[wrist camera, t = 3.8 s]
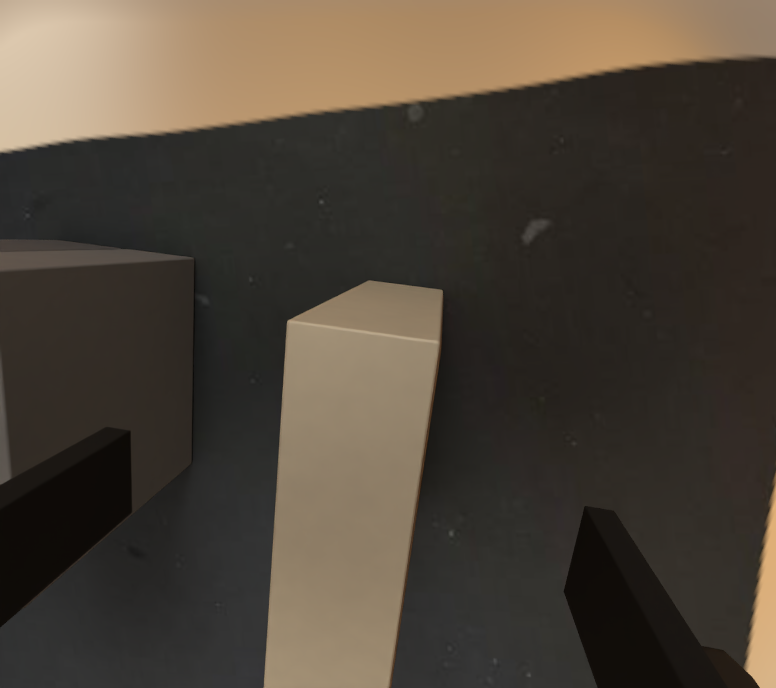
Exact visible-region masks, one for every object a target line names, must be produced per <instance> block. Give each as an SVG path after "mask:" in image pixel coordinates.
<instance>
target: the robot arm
mask: <svg viewBox="0 0 776 688" xmlns="http://www.w3.org/2000/svg"><path fill="white" fill-rule="evenodd" d="M131 513H132V475H131V431H130V430H124V429H118V428H112V427H105V428H103V429H101V430H100V431H98V432H96V433H94V434H92V435H90V436H89V437H87V438H85V439H83V440H81V441H79V442H78V443H76V444H74V445H72V446H70V447H68V448H67V449H65V450H63V451H61V452H59V453H58V454H56V455H54V456H52V457H50V458H48V459H47V460H45V461H43V462H41V463H39V464H37V465H36V466H34V467H32V468H30V469H28V470H26V471H25V472H23V473H21V474H19V475H17V476H16V477H14V478H12V479H10V480H8V481H6V482H5V483H3V484H1V485H0V627H1V626H2V625H4V624H5V623H6V622H7V621H8V620H9V619H10V618H12V617H13V616H14V615H15V614H16V613H17V612H18V611H20V610H21V609H22V608H23V607H24V606H25V605H27V604H28V603H29V602H30V601H31V600H32V599H33V598H35V597H36V596H37V595H38V594H39V593H40V592H41V591H43V590H44V589H45V588H46V587H47V586H48V585H49V584H51V583H52V582H53V581H54V580H55V579H56V578H58V577H59V576H60V575H61V574H62V573H63V572H64V571H66V570H67V569H68V568H69V567H70V566H71V565H72V564H74V563H75V562H76V561H77V560H78V559H79V558H81V557H82V556H83V555H84V554H85V553H86V552H87V551H89V550H90V549H91V548H92V547H93V546H94V545H95V544H97V543H98V542H99V541H100V540H101V539H102V538H103V537H105V536H106V535H107V534H108V533H109V532H110V531H112V530H113V529H114V528H115V527H116V526H117V525H118V524H120V523H121V522H122V521H123V520H124V519H125V518H126V517H128V516H129V515H130V514H131ZM564 593H565V596H566V599H567V602H568V605H569V608H570V610H571V613H572V616H573V619H574V622H575V625H576V628H577V630H578V633H579V636H580V639H581V642H582V645H583V647H584V650H585V653H586V656H587V659H588V662H589V664H590V667H591V670H592V673H593V676H594V679H595V682H596V684H597V687H598V688H760V687H759V686H758V685H757V683H756V682H755V680H754V679H753V678H752V676H751V675H750V674H748V673H747V672H746V671H745V670H744V669H743V668H742V667H741V666H740V665H739V664H738V663H737V662H736V661H734V660H733V659H732V658H731V657H730V656H729V655H728V654H727V653H726V652H725V651H724V650H720V649H714V648H709V647H704V646H701V645H700V644H699V642H698V640H697V639H696V637H695V636H694V634H693V633H692V631H691V630H690V628H689V626H688V625H687V623H686V622H685V620H684V619H683V617H682V616H681V614H680V613H679V611H678V609H677V608H676V606H675V605H674V603H673V602H672V600H671V599H670V597H669V595H668V594H667V592H666V591H665V589H664V588H663V586H662V585H661V583H660V581H659V580H658V578H657V577H656V575H655V574H654V572H653V571H652V569H651V568H650V566H649V564H648V563H647V561H646V560H645V558H644V557H643V555H642V554H641V552H640V550H639V549H638V547H637V546H636V544H635V543H634V541H633V540H632V538H631V537H630V535H629V533H628V532H627V530H626V529H625V527H624V526H623V524H622V523H621V521H620V519H619V518H618V516H617V515H616V513H615V512H614V511H612V510H606V509H600V508H594V507H588V506H585V507H584V511H583V516H582V520H581V524H580V528H579V532H578V536H577V540H576V544H575V548H574V552H573V556H572V560H571V564H570V568H569V572H568V576H567V580H566V585H565V589H564Z"/></svg>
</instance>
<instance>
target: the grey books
mask: <svg viewBox="0 0 776 688" xmlns="http://www.w3.org/2000/svg"><path fill="white" fill-rule="evenodd" d="M193 321H194V258H192V257H185V256H177V255H169V254H161V253H154V252H146V251H138V250H131V249H120V248H115V247H108V246H100V245H92V244H84V243H77V242H69V241H61V240H0V485H1V484H3V483H5V482H6V481H8V480H10V479H12V478H14V477H16V476H17V475H19V474H21V473H23V472H25V471H26V470H28V469H30V468H32V467H34V466H36V465H37V464H39V463H41V462H43V461H45V460H47V459H48V458H50V457H52V456H54V455H56V454H58V453H59V452H61V451H63V450H65V449H67V448H68V447H70V446H72V445H74V444H76V443H78V442H79V441H81V440H83V439H85V438H87V437H89V436H90V435H92V434H94V433H96V432H98V431H100V430H101V429H103V428H105V427H112V428H118V429H124V430H130V431H131V475H132V513H131V514H130V515H129V516H128V517H126V518H125V519H124V520H123V521H122V522H121V523H120V524H118V525H117V526H116V527H115V528H114V529H113V530H112V531H110V532H109V533H108V534H107V535H106V536H105V537H103V538H102V539H101V540H100V541H99V542H98V543H97V544H95V545H94V546H93V547H92V548H91V549H90V550H89V551H87V552H86V553H85V554H84V555H83V556H82V557H81V558H79V559H78V560H77V561H76V562H75V563H74V564H72V565H71V566H70V567H69V568H68V569H67V570H66V571H68V570H69V569H70V568H71V567H72V566H73V565H75V564H76V563H77V562H78V561H79V560H80V559H82V558H83V557H84V556H85V555H86V554H87V553H88V552H90V551H91V550H92V549H93V548H94V547H95V546H97V545H98V544H99V543H100V542H101V541H102V540H103V539H105V538H106V537H107V536H108V535H109V534H110V533H112V532H113V531H114V530H115V529H116V528H117V527H118V526H120V525H121V524H122V523H123V522H124V521H125V520H127V519H128V518H129V517H130V516H131V515H132V514H133V513H135V512H136V511H137V510H138V509H139V508H140V507H142V506H143V505H144V504H145V503H146V502H147V501H148V500H150V499H151V498H152V497H153V496H154V495H155V494H157V493H158V492H159V491H160V490H161V489H162V488H164V487H165V486H166V485H167V484H168V483H169V482H170V481H172V480H173V479H174V478H175V477H176V476H177V475H179V474H180V473H181V472H182V471H183V470H184V469H185V468H187V467H188V466H189V465H190V464H191V462H192V395H193ZM66 571H64V572H63V573H62V574H61V575H60V576H59V577H58V578H60V577H61V576H62V575H63V574H64V573H65V572H66ZM58 578H56V579H55V580H54V581H53V582H52V583H51V584H53V583H54V582H55V581H56V580H57V579H58ZM51 584H49V585H48V586H47V587H46V588H45V589H44V590H43V591H45V590H46V589H47V588H48V587H49V586H50V585H51ZM43 591H41V592H40V593H39V594H38V595H37V596H36V597H38V596H39V595H40V594H41V593H42V592H43ZM36 597H35V598H36ZM35 598H33V599H32V600H31V601H30V602H29V603H28V604H30V603H31V602H32V601H33V600H34V599H35ZM28 604H27V605H28ZM27 605H25V606H24V607H23V608H25V607H26V606H27ZM23 608H22V609H23Z"/></svg>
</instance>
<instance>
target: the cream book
mask: <svg viewBox="0 0 776 688" xmlns="http://www.w3.org/2000/svg"><path fill="white" fill-rule="evenodd" d="M442 319H443V290H439V289H431V288H424V287H416V286H408V285H401V284H393V283H385V282H377V281H370V280H369V281H367V282H365V283H363V284H361V285H359V286H357V287H355V288H353V289H351V290H349V291H347V292H344V293H342V294H340V295H338V296H336V297H334V298H332V299H330V300H328V301H326V302H324V303H322V304H320V305H318V306H316V307H314V308H312V309H310V310H308V311H306V312H304V313H302V314H300V315H298V316H296V317H294V318H292V319H290V320H288V322H287V331H286V347H285V363H284V378H283V394H282V410H281V425H280V441H279V457H278V472H277V488H276V504H275V519H274V535H273V551H272V566H271V582H270V598H269V613H268V629H267V645H266V660H265V676H264V688H391V684H392V678H393V671H394V664H395V657H396V651H397V644H398V637H399V630H400V624H401V617H402V610H403V604H404V597H405V590H406V583H407V577H408V570H409V563H410V556H411V550H412V543H413V536H414V530H415V523H416V516H417V509H418V503H419V496H420V489H421V482H422V476H423V469H424V462H425V456H426V449H427V442H428V435H429V429H430V422H431V415H432V408H433V402H434V395H435V388H436V382H437V375H438V368H439V361H440V355H441V342H442Z"/></svg>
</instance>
